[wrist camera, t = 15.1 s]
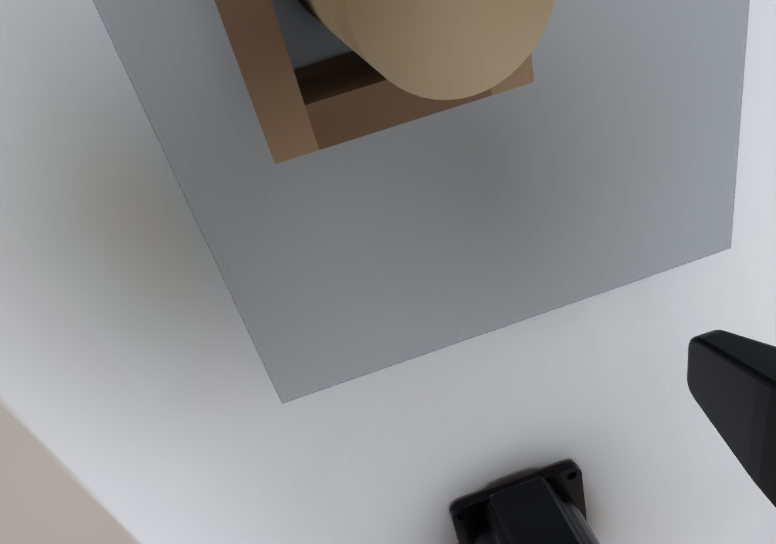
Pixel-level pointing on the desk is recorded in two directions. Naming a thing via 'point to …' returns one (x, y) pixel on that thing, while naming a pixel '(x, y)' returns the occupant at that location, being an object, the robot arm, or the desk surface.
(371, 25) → the dowel
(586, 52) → the jig
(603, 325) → the desk surface
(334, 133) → the socket block
